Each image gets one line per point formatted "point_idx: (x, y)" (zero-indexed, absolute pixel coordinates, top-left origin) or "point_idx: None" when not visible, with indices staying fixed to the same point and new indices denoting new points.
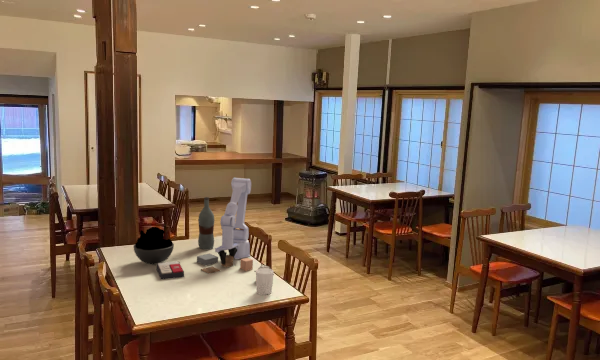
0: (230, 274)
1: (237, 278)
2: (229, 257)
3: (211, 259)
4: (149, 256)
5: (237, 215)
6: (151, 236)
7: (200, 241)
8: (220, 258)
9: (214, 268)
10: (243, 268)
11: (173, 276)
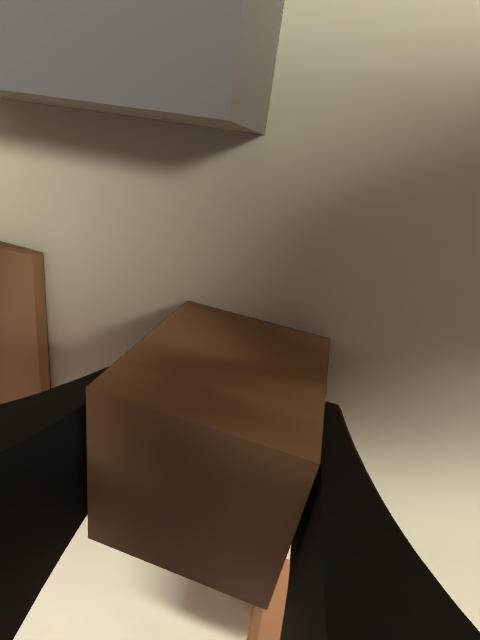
0: (78, 536)
1: (70, 605)
2: (167, 565)
3: (36, 97)
4: None
5: None
6: None
7: None
8: (58, 391)
9: (13, 339)
10: (255, 610)
11: None
